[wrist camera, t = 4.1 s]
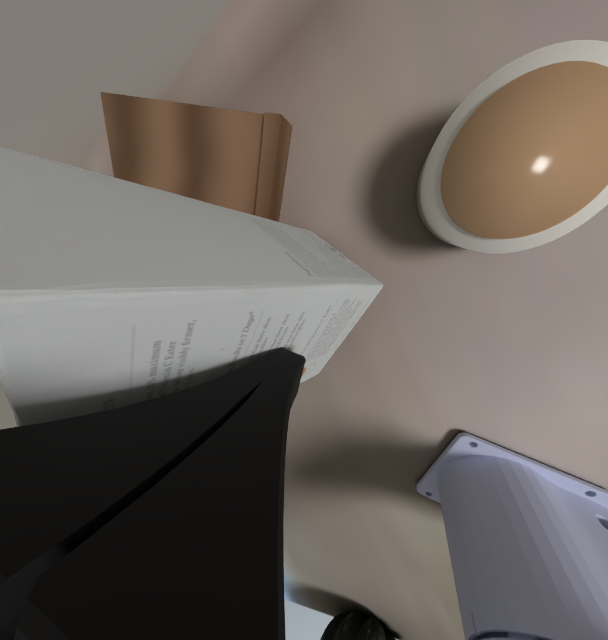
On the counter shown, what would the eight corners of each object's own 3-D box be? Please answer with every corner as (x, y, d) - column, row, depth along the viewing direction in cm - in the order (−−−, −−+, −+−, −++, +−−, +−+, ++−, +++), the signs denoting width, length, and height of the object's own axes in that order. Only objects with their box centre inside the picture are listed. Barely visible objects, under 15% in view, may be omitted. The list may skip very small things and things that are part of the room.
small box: (312, 230, 15) (-45, 123, 5) (387, 284, 12) (-65, 297, 2) (269, 320, 19) (26, 363, 9) (318, 375, 16) (50, 527, 6)
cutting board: (292, 125, 13) (281, 114, 12) (256, 379, 22) (248, 388, 21) (119, 100, 16) (95, 89, 15) (150, 331, 25) (137, 337, 24)
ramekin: (622, 102, 9) (746, 36, 6) (519, 261, 12) (565, 273, 9) (452, 87, 10) (478, 28, 7) (397, 232, 13) (400, 233, 10)
